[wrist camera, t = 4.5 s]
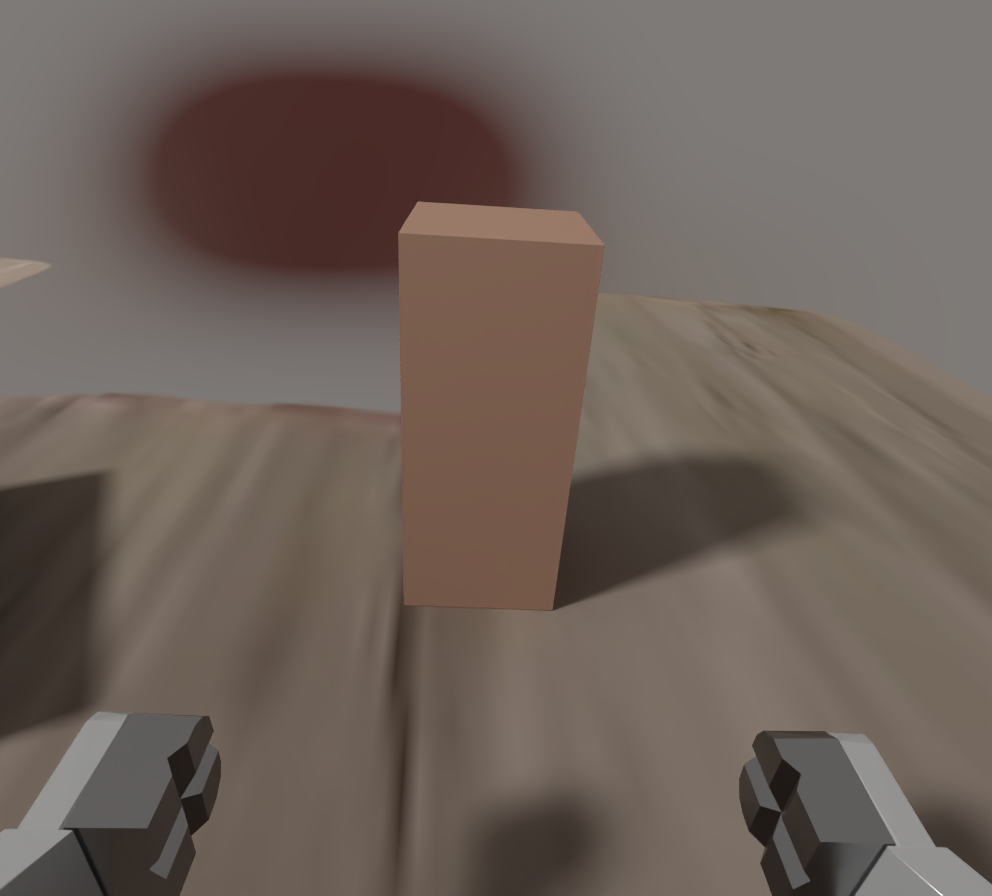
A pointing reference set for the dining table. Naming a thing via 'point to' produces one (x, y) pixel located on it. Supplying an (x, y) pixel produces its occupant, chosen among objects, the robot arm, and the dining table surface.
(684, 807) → the dining table surface
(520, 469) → the terracotta block
